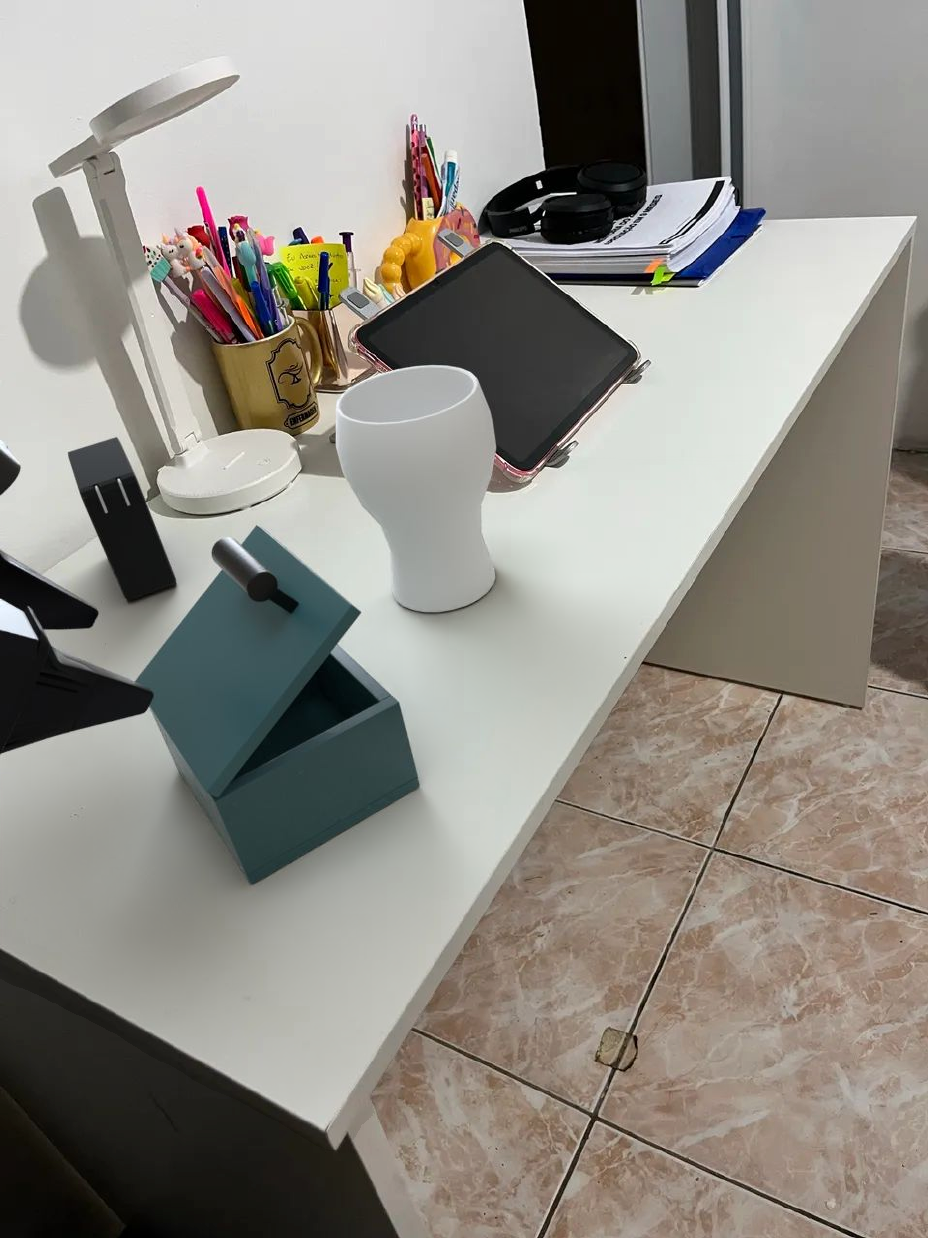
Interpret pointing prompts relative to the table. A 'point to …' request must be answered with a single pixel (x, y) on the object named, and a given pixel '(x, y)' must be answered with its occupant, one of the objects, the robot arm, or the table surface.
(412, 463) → the white vase
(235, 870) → the table surface
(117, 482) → the electronic device
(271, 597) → the box lid
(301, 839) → the teal box
